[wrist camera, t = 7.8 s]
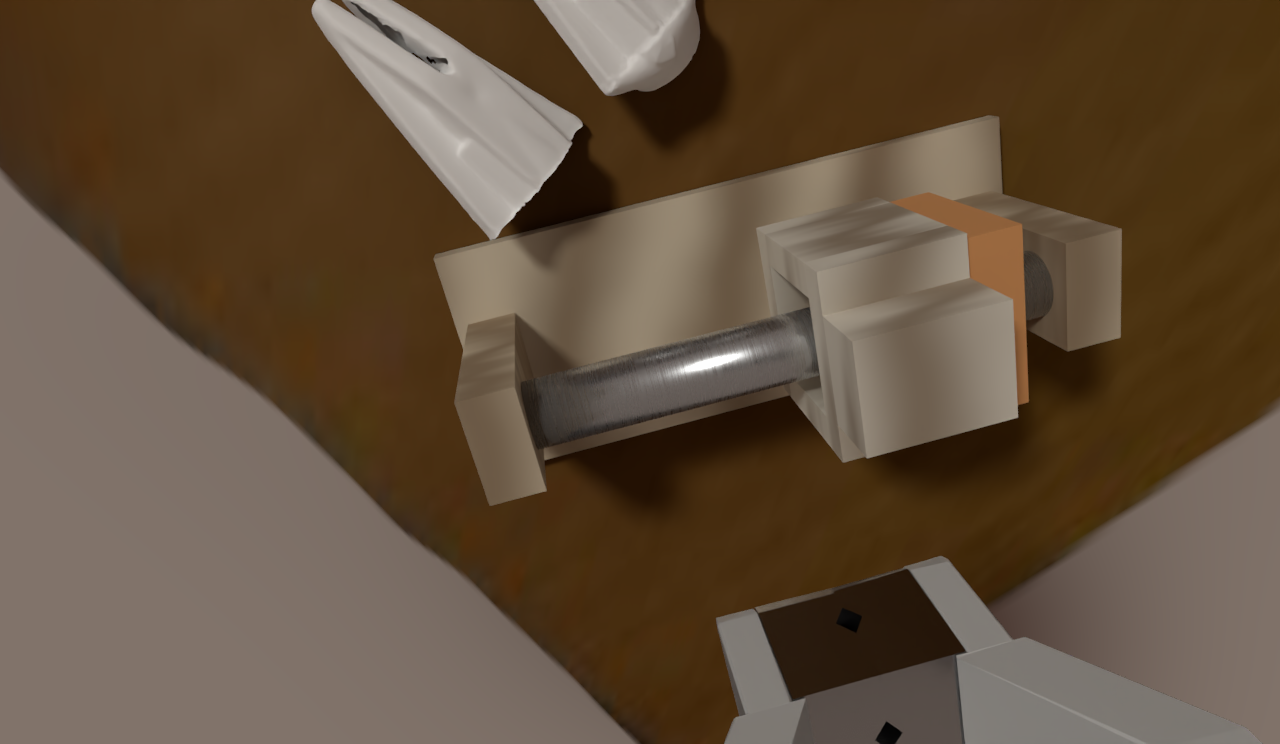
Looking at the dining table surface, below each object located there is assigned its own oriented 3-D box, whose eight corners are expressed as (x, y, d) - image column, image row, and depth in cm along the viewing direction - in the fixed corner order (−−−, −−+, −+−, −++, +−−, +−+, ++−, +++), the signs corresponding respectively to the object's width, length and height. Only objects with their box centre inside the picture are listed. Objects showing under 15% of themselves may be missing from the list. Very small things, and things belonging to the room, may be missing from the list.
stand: (988, 115, 35) (1137, 135, 26) (999, 331, 39) (1132, 408, 30) (435, 254, 34) (409, 320, 25) (503, 463, 37) (500, 580, 29)
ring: (928, 192, 32) (1022, 224, 26) (940, 341, 35) (1028, 402, 29) (880, 204, 32) (963, 239, 26) (896, 353, 35) (975, 416, 29)
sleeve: (876, 197, 32) (1010, 250, 24) (894, 357, 35) (1019, 458, 26) (755, 227, 32) (845, 293, 23) (782, 386, 35) (872, 498, 26)
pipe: (1011, 241, 31) (1053, 258, 28) (1014, 306, 32) (1055, 327, 29) (519, 369, 30) (520, 397, 27) (538, 432, 31) (540, 464, 28)
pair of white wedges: (722, 24, 32) (532, -245, 28) (748, 19, 28) (533, -294, 24) (495, 223, 34) (286, -7, 30) (490, 244, 30) (250, -17, 26)
